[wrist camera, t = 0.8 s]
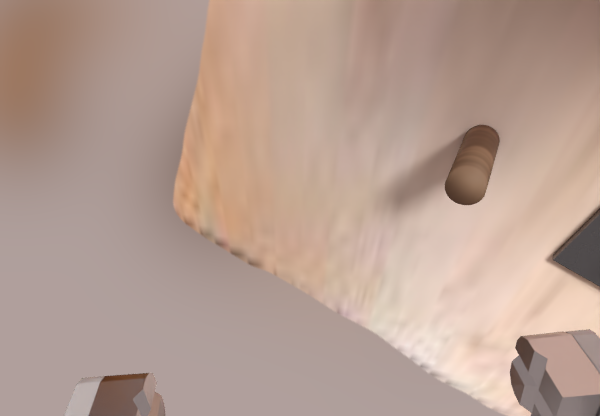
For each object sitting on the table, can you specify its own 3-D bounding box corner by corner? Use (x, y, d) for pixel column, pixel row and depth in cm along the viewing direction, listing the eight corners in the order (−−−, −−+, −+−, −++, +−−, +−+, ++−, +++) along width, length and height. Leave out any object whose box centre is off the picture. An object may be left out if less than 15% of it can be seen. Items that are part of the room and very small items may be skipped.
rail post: (475, 119, 51) (457, 163, 43) (506, 135, 51) (494, 183, 42) (458, 145, 54) (437, 192, 45) (487, 161, 53) (472, 211, 45)
